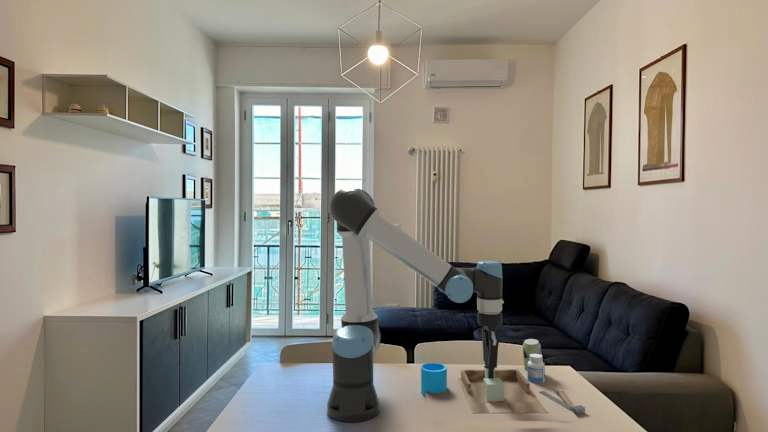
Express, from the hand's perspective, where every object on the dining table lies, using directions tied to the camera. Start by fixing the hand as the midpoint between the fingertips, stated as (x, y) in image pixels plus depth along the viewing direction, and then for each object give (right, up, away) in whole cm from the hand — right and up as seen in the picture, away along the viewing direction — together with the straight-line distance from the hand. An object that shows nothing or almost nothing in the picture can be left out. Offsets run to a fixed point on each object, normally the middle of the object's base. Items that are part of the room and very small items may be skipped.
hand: (490, 387), depth 145 cm
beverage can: (+19, -3, +20) cm, 28 cm away
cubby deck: (+2, -3, -1) cm, 4 cm away
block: (0, -2, -4) cm, 4 cm away
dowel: (+22, -3, -4) cm, 23 cm away
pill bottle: (+17, -3, +10) cm, 20 cm away
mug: (-17, -3, +6) cm, 18 cm away
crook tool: (+20, -3, -6) cm, 21 cm away
